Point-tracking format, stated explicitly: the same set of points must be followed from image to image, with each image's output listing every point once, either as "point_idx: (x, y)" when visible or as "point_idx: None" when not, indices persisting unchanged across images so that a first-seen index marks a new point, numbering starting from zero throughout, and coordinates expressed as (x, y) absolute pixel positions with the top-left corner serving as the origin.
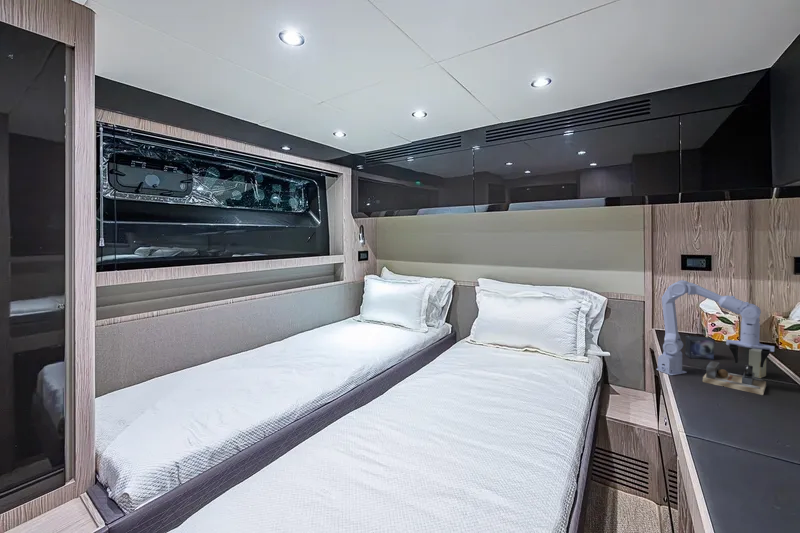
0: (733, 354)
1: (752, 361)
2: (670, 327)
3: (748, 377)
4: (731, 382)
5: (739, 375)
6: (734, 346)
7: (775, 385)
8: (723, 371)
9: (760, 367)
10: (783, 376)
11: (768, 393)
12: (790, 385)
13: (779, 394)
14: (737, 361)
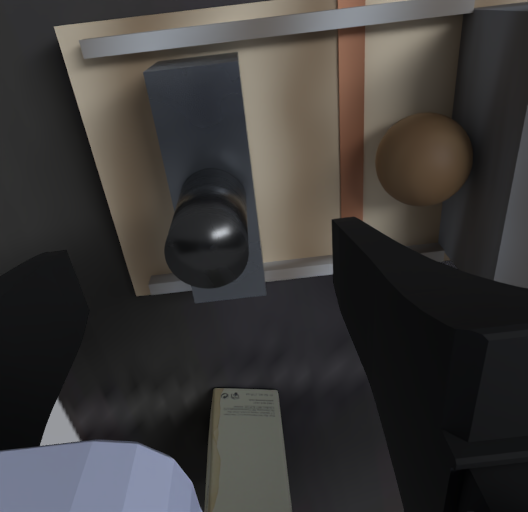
0: (435, 263)
1: (264, 493)
2: None
3: (187, 106)
4: (320, 10)
5: (301, 266)
6: (525, 459)
7: (114, 330)
8: (427, 141)
9: (212, 458)
10: None
11: (68, 116)
12: (65, 387)
13: (15, 160)
14: (336, 245)
